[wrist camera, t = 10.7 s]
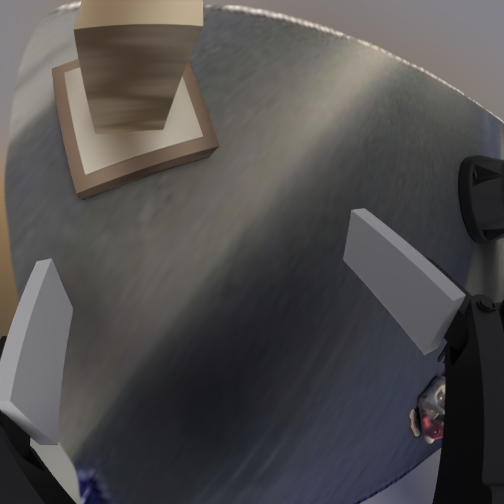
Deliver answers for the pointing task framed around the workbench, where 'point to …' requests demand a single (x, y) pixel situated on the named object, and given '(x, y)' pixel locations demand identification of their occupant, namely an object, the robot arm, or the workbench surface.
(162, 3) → the oak block
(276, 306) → the workbench surface
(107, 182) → the plinth
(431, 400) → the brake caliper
